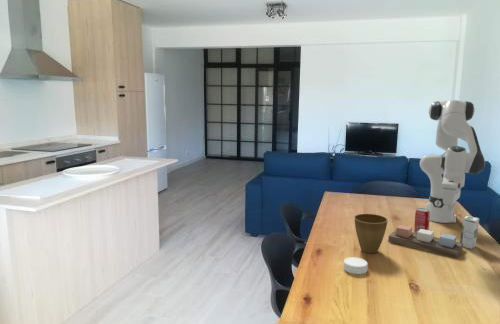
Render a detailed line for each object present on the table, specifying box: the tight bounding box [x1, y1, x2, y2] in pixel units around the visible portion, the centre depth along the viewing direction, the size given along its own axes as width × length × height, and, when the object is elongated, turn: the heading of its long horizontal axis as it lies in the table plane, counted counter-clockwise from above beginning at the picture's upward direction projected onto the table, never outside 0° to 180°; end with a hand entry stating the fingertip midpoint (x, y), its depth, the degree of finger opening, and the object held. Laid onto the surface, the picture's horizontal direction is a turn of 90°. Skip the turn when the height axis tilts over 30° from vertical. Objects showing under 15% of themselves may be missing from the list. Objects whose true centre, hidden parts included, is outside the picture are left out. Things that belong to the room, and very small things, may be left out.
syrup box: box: [459, 215, 480, 250], centre depth 184 cm, size 6×6×14 cm
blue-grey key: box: [439, 233, 457, 248], centre depth 179 cm, size 6×6×4 cm
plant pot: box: [354, 213, 388, 254], centre depth 178 cm, size 15×15×16 cm
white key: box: [417, 229, 434, 243], centre depth 185 cm, size 6×6×4 cm
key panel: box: [387, 229, 463, 259], centre depth 186 cm, size 13×31×3 cm, turn 52°
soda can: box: [413, 207, 431, 233], centre depth 202 cm, size 7×7×13 cm
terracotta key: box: [395, 224, 413, 238], centre depth 191 cm, size 6×6×4 cm
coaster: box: [342, 256, 369, 275], centre depth 160 cm, size 10×10×4 cm
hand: (450, 210), depth 177 cm, fingers closed
